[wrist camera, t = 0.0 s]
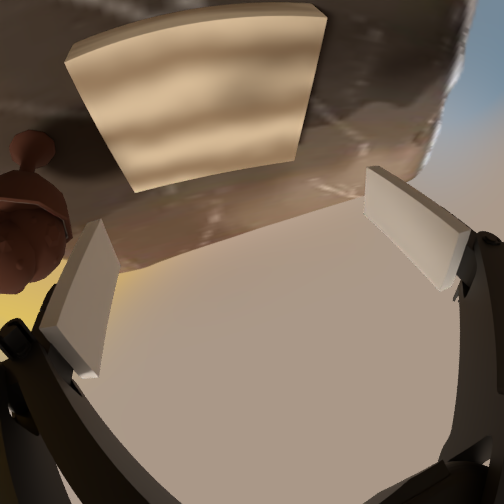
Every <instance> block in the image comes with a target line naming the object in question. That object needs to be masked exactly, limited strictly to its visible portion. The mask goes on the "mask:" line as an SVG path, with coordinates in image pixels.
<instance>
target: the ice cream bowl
mask: <svg viewBox="0 0 504 504" xmlns="http://www.w3.org/2000/svg"><path fill="white" fill-rule="evenodd" d="M10 153H11V157H12V160H13V161H14V162H16V163H17V164H18V165H20V169H19V171H18V170H12V171H10V172H7V173H5V174H2V175H0V294H18V293H20V292H21V291H23V289H24V288H25V286H26V285H27V284H28V283H31V282H37V281H39V280H42V279H44V278H46V277H47V276H48V275H49V274H50V273H51V272H52V271H53V270H54V269H55V268H56V267H57V266H58V265H59V264H60V262H61V260H62V258H63V256H64V253H65V247H66V243H67V242H68V241H70V240H71V239H72V238H73V236H72V230H71V224H70V219H69V215H68V210H67V205H66V202H65V199H64V197H63V194H62V193H61V192H60V191H59V190H58V189H57V188H56V187H55V186H54V185H53V184H51V183H50V182H48V181H47V180H46V179H44V178H43V177H41V176H40V175H39V174H37V173H34V172H35V169H36V168H39V167H42V166H45V165H47V164H48V163H49V161H50V160H51V159H52V157H53V156H54V154H55V153H56V152H55V144H54V141H53V140H52V139H51V138H50V137H49V136H48V135H46V134H45V133H44V132H39V131H33V130H27V131H25V132H22V133H20V134H17V135H15V137H14V139H13V140H12V142H11V144H10Z"/></svg>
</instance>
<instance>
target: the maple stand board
mask: <svg viewBox="0 0 504 504" xmlns="http://www.w3.org/2000/svg"><path fill="white" fill-rule="evenodd" d="M326 22H327V17H326V16H325V15H324V14H323V13H322V12H321V11H319V10H318V9H317V8H316V7H315V6H314V5H312V4H311V3H291V2H262V3H241V4H229V5H219V6H210V7H203V8H196V9H190V10H184V11H179V12H174V13H169V14H164V15H160V16H156V17H152V18H148V19H144V20H140V21H136V22H133V23H129V24H126V25H123V26H120V27H117V28H114V29H111V30H108V31H105V32H102V33H99V34H97V35H94V36H91V37H89V38H86V39H84V40H81V41H79V42H76V43H74V44H73V46H72V48H71V50H70V52H69V54H68V56H67V58H66V60H65V62H64V63H65V65H66V67H67V69H68V71H69V74H70V76H71V78H72V80H73V82H74V84H75V86H76V88H77V90H78V92H79V94H80V96H81V98H82V100H83V102H84V103H85V105H86V107H87V109H88V111H89V113H90V115H91V117H92V119H93V120H94V122H95V124H96V126H97V128H98V130H99V132H100V133H101V135H102V137H103V139H104V141H105V142H106V144H107V146H108V148H109V149H110V151H111V153H112V155H113V156H114V158H115V160H116V162H117V163H118V165H119V167H120V168H121V170H122V172H123V173H124V175H125V177H126V178H127V180H128V182H129V183H130V185H131V187H132V188H133V190H134V192H135V193H137V192H141V191H144V190H148V189H152V188H156V187H160V186H164V185H168V184H173V183H177V182H181V181H186V180H190V179H195V178H199V177H204V176H209V175H214V174H219V173H224V172H229V171H234V170H240V169H245V168H251V167H256V166H262V165H268V164H275V163H281V162H288V161H294V159H295V155H296V151H297V147H298V142H299V138H300V134H301V130H302V126H303V122H304V118H305V114H306V109H307V105H308V101H309V97H310V92H311V88H312V84H313V80H314V75H315V71H316V67H317V62H318V58H319V53H320V49H321V45H322V40H323V36H324V31H325V27H326Z"/></svg>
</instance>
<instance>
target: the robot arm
mask: <svg viewBox="0 0 504 504" xmlns="http://www.w3.org/2000/svg"><path fill="white" fill-rule="evenodd" d="M363 214H364V215H365V216H366V217H367V218H368V219H369V220H370V221H371V222H372V223H373V224H374V225H376V226H377V227H378V228H379V229H380V230H381V231H382V232H383V233H384V234H385V235H386V236H387V237H388V238H389V239H390V240H391V241H392V242H393V243H394V244H395V245H396V246H397V247H398V248H399V249H400V250H401V251H402V252H403V253H404V254H405V255H406V256H407V257H408V258H409V259H410V260H411V261H412V262H413V263H414V264H415V265H416V267H417V268H418V269H419V270H420V271H421V272H422V273H423V274H424V275H425V276H426V277H427V278H428V279H429V281H430V282H431V283H432V284H433V285H434V286H435V287H436V288H437V289H438V291H439V292H440V291H443V290H445V289H447V288H450V287H452V285H453V282H454V279H455V277H456V275H457V276H458V277H459V278H460V279H461V281H460V283H459V285H458V288H457V290H456V293H455V295H454V297H453V301H455V300H456V298H457V296H459V300H458V302H459V307H460V357H459V358H460V359H459V375H458V386H457V397H456V405H455V411H454V418H453V425H452V430H451V434H450V436H449V438H448V440H447V442H446V443H445V445H444V446H443V449H442V451H441V453H440V457H439V460H438V462H437V463H435V464H434V465H432V466H430V467H428V468H426V469H425V470H423V471H421V472H419V473H417V474H415V475H413V476H411V477H409V478H407V479H405V480H403V481H401V482H399V483H397V484H395V485H393V486H391V487H389V488H387V489H385V490H383V491H381V492H379V493H377V494H376V495H375V496H373V497H372V498H371V499H369V500H368V501H366V502H365V503H364V504H504V242H502V241H501V240H500V239H499V238H498V237H497V236H495V235H494V234H492V233H489V232H486V231H480V232H478V233H476V232H474V231H473V230H472V229H471V228H470V227H468V226H467V225H466V224H464V223H463V222H462V221H461V220H459V219H457V218H456V217H455V216H454V215H453V214H450V212H448V211H447V210H446V209H445V208H443V207H441V206H439V205H438V204H437V203H435V202H434V201H432V200H431V199H430V198H428V197H427V196H425V195H424V194H422V193H421V192H419V191H418V190H416V189H415V188H413V187H412V186H410V185H409V184H407V183H406V182H404V181H403V180H401V179H399V178H398V177H396V176H395V175H393V174H391V173H390V172H388V171H387V170H385V169H383V168H382V167H380V166H370V167H366V185H365V200H364V213H363ZM120 266H121V265H120V263H119V261H118V258H117V256H116V254H115V252H114V249H113V247H112V244H111V242H110V240H109V237H108V235H107V232H106V230H105V227H104V225H103V222H102V219H99V220H95V221H92V222H89V223H87V225H86V227H85V228H84V230H83V232H82V234H81V236H80V238H79V240H78V241H77V243H76V245H75V247H74V249H73V251H72V253H71V255H70V257H69V259H68V261H67V264H66V265H65V267H64V270H63V272H62V274H61V276H60V278H59V280H58V283H57V284H54V285H53V286H52V288H51V289H50V290H49V291H48V293H47V294H46V297H45V299H44V301H43V304H42V306H41V308H40V312H39V313H38V316H37V318H36V321H35V324H34V326H33V329H32V331H30V330H29V329H28V327H27V326H26V325H25V324H24V322H23V321H22V320H21V319H19V318H15V319H12V320H10V321H9V322H7V323H6V324H5V325H4V326H3V327H2V328H1V330H0V349H1V350H2V351H3V353H4V354H5V355H6V356H7V357H8V358H9V359H7V360H5V361H3V362H0V504H71V502H70V499H69V497H68V494H67V492H66V490H65V487H64V485H63V482H62V479H61V477H60V474H59V471H58V469H57V466H58V467H59V469H60V471H61V472H62V474H63V476H64V477H65V479H66V480H67V482H68V483H69V485H70V486H71V488H72V489H73V491H74V492H75V494H76V495H77V497H78V498H79V499H80V501H81V502H82V504H181V503H180V502H179V501H178V500H177V499H176V498H175V497H173V496H172V495H171V494H170V493H169V492H168V491H167V490H166V489H164V487H162V486H161V485H160V484H159V483H158V482H157V481H156V480H155V479H154V478H153V477H152V476H151V475H150V474H149V473H148V472H147V471H146V470H145V469H144V468H143V467H142V466H141V465H140V464H139V463H138V461H137V460H136V459H135V458H134V457H133V456H132V455H131V454H130V453H129V452H128V451H127V449H126V448H125V447H124V446H123V445H122V444H121V443H120V441H119V440H118V439H117V438H116V437H115V435H114V434H113V433H112V432H111V430H110V429H109V428H108V427H107V425H106V424H105V423H104V421H103V420H102V419H101V418H100V416H99V415H98V414H97V412H96V411H95V410H94V408H93V407H92V405H91V404H90V402H89V401H88V400H87V398H86V397H85V395H84V394H83V392H82V391H81V389H80V388H79V386H78V385H77V383H76V382H75V381H74V380H73V379H72V374H73V370H74V371H75V372H76V373H77V374H78V375H79V376H80V377H81V378H82V379H84V378H97V377H99V372H100V365H101V358H102V352H103V346H104V340H105V334H106V329H107V323H108V318H109V313H110V309H111V304H112V299H113V295H114V291H115V286H116V282H117V278H118V274H119V270H120ZM9 409H10V410H11V411H12V416H11V415H10V413H9ZM489 459H490V464H489V467H487V466H485V465H482V464H483V463H484V462H485V461H487V460H489ZM55 462H56V463H55ZM56 464H57V466H56Z"/></svg>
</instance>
